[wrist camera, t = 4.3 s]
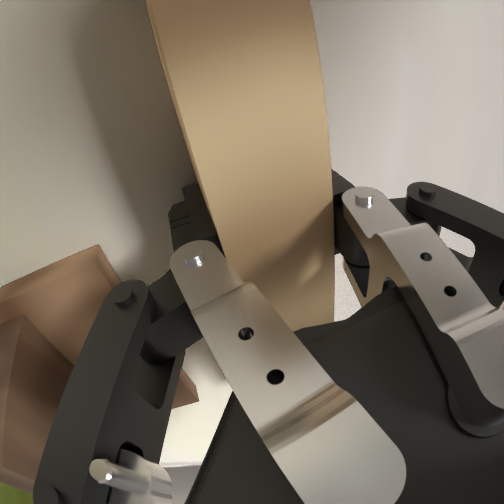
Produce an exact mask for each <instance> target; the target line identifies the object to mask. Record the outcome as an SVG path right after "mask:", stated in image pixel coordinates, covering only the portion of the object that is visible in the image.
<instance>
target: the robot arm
mask: <svg viewBox="0 0 504 504" xmlns="http://www.w3.org/2000/svg"><path fill="white" fill-rule="evenodd" d="M331 174H332V192H333V214H334V255H336V254H338V253H341V254H342V256H343V268H344V271H345V273H346V275H347V277H348V279H349V281H350V283H351V285H352V287H353V289H354V291H355V294H356V296H357V298H358V300H359V302H360V304H361V307H362V308H361V309H360V310H358V311H357V312H356V313H355V314H353V315H352V316H351V317H349V318H348V319H346V320H342V321H337V322H332V323H327V324H322V325H316V326H311V327H305V328H301V329H299V330H296V331H294V332H292V330H291V329H290V328H289V327H288V325H287V324H286V323H285V322H284V320H283V319H282V318H281V317H280V316H279V314H278V313H277V312H276V311H275V309H274V308H273V307H272V306H271V304H270V303H269V302H268V301H267V299H266V298H265V297H264V296H263V294H262V293H261V292H260V291H259V290H258V288H257V287H256V286H255V285H254V284H253V283H252V282H251V281H248V282H247V283H244V282H243V281H242V279H241V278H240V277H239V275H238V274H237V273H236V271H235V270H234V269H233V268H232V266H231V265H230V264H229V262H228V261H227V260H226V258H225V255H224V252H223V249H222V246H221V242H220V239H219V236H218V233H217V231H216V228H215V226H214V223H213V221H212V218H211V215H210V213H209V210H208V208H207V205H206V203H205V200H204V197H203V195H202V192H201V190H200V187H199V184H198V183H196V184H193V185H190V186H187V187H184V188H182V189H183V193H184V197H185V201H183V202H180V203H178V204H175V205H173V206H172V208H171V210H170V212H169V214H168V216H169V222H170V229H171V236H172V242H173V249H174V253H173V254H172V256H171V258H170V261H169V266H170V270H169V271H168V272H167V273H166V274H165V275H164V276H163V277H161V278H160V279H159V280H157V281H155V282H154V283H152V284H151V285H149V286H148V287H147V285H146V284H145V283H144V282H143V281H140V280H128V281H125V282H122V283H121V284H119V285H117V286H116V287H114V288H113V289H112V290H111V291H110V292H109V293H108V295H107V296H106V298H105V300H104V302H103V304H102V306H101V308H100V310H99V312H98V314H97V316H96V318H95V320H94V322H93V325H92V327H91V329H90V331H89V333H88V335H87V338H86V340H85V342H84V344H83V347H82V349H81V351H80V354H79V356H78V358H77V361H76V363H75V365H74V368H73V370H72V373H71V375H70V378H69V380H68V383H67V385H66V388H65V390H64V393H63V395H62V398H61V401H60V403H59V406H58V409H57V412H56V415H55V417H54V420H53V423H52V426H51V429H50V432H49V435H48V438H47V441H46V445H45V448H44V451H43V455H42V458H41V461H40V465H39V468H38V472H37V476H36V480H35V484H34V488H33V503H34V504H174V503H173V500H172V483H171V479H170V477H169V475H168V473H167V472H166V470H165V469H163V467H161V466H160V465H159V461H160V456H161V452H162V447H163V443H164V438H165V434H166V430H167V425H168V421H169V417H170V413H171V408H172V404H173V400H174V396H175V392H176V388H177V384H178V380H179V376H180V372H181V368H182V364H183V360H184V356H185V349H186V348H188V347H189V346H191V345H192V344H194V343H195V342H197V341H198V340H200V339H201V338H202V337H204V339H205V340H206V342H207V344H208V346H209V348H210V350H211V352H212V354H213V356H214V357H215V359H216V361H217V363H218V365H219V367H220V368H221V370H222V372H223V374H224V376H225V377H226V379H227V381H228V383H229V385H230V386H231V388H232V390H233V391H232V393H231V396H230V398H229V400H228V403H227V405H226V408H225V410H224V413H223V415H222V418H221V420H220V422H219V425H218V427H217V430H216V432H215V434H214V437H213V439H212V442H211V444H210V446H209V449H208V451H207V453H206V456H205V458H204V461H203V463H202V465H201V468H200V470H199V472H198V474H197V477H196V479H195V481H194V484H193V486H192V488H191V490H190V493H189V495H188V497H187V500H186V502H185V504H504V214H503V213H501V212H499V211H497V210H495V209H493V208H490V207H488V206H486V205H484V204H481V203H479V202H477V201H475V200H472V199H470V198H467V197H465V196H463V195H460V194H458V193H455V192H453V191H450V190H448V189H445V188H443V187H440V186H437V185H435V184H432V183H427V182H416V183H412V184H410V185H409V186H408V188H407V195H406V198H395V199H388V198H387V197H386V196H385V195H384V194H383V193H382V192H381V191H379V190H377V189H374V188H370V187H355V186H354V185H352V184H351V183H350V182H348V181H347V180H346V179H345V178H343V177H342V176H341V175H340V176H339V174H338V173H337V172H335V171H333V169H331ZM441 226H442V227H445V228H447V229H449V230H451V231H453V232H456V233H458V234H460V235H462V236H464V237H466V238H468V239H470V240H471V241H472V242H473V243H474V245H475V254H474V257H467V256H465V255H463V254H461V253H459V252H457V251H455V250H453V249H451V248H449V247H447V246H446V244H445V243H444V242H443V241H442V239H441V238H440V237H439V235H440V231H441Z"/></svg>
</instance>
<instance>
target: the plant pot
mask: <svg viewBox="0 0 504 504" xmlns="http://www.w3.org/2000/svg"><path fill="white" fill-rule="evenodd" d="M0 504H34V503H33V494H31V493H28V492H25V491H22V490H20V489H17V488H15V487H12V486H10V485H7V484H5V483H2V482H0Z"/></svg>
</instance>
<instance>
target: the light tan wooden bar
mask: <svg viewBox="0 0 504 504" xmlns="http://www.w3.org/2000/svg"><path fill="white" fill-rule="evenodd" d="M145 3H146V7H147V11H148V15H149V18H150V22H151V26H152V30H153V33H154V37H155V41H156V44H157V48H158V52H159V55H160V59H161V62H162V66H163V70H164V73H165V77H166V80H167V84H168V87H169V90H170V94H171V97H172V101H173V104H174V108H175V111H176V114H177V118H178V121H179V124H180V128H181V131H182V134H183V138H184V141H185V144H186V147H187V151H188V154H189V157H190V160H191V164H192V167H193V170H194V173H195V176H196V179H197V183H198V184H199V187H200V190H201V192H202V195H203V197H204V200H205V203H206V205H207V208H208V210H209V213H210V215H211V218H212V221H213V223H214V226H215V228H216V231H217V233H218V236H219V239H220V242H221V246H222V249H223V252H224V255H225V258H226V260H227V261H228V262H229V264H230V265H231V266H232V268H233V269H234V270H235V271H236V273H237V274H238V275H239V277H240V278H241V279H242V281H243V282H244V283H247V282H248V281H251V282H252V283H253V284H254V285H255V286H256V287H257V288H258V290H259V291H260V292H261V293H262V294H263V296H264V297H265V298H266V299H267V301H268V302H269V303H270V304H271V306H272V307H273V308H274V309H275V311H276V312H277V313H278V314H279V316H280V317H281V318H282V319H283V320H284V322H285V323H286V324H287V325H288V327H289V328H290V329H291V330H292V332H294V331H296V330H299V329H301V328H305V327H311V326H316V325H322V324H327V323H332V322H334V290H335V256H334V214H333V192H332V174H331V159H330V146H329V135H328V124H327V114H326V105H325V96H324V88H323V80H322V72H321V65H320V58H319V51H318V45H317V38H316V32H315V27H314V21H313V15H312V10H311V5H310V0H145Z"/></svg>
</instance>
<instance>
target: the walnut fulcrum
mask: <svg viewBox="0 0 504 504" xmlns="http://www.w3.org/2000/svg"><path fill="white" fill-rule="evenodd" d="M121 283H122V282H121V281H120V279H119V278H118V276H117V274H116V273H115V271H114V269H113V268H112V266H111V264H110V263H109V261H108V259H107V258H106V256H105V254H104V253H103V251H102V249H101V247H100V246H99V244H98V245H95V246H93V247H91V248H88V249H86V250H83V251H81V252H79V253H76V254H74V255H71V256H69V257H67V258H64V259H62V260H60V261H58V262H55V263H53V264H51V265H48V266H46V267H44V268H42V269H39V270H37V271H35V272H33V273H31V274H28V275H26V276H24V277H22V278H20V279H18V280H16V281H13V282H11V283H9V284H7V285H5V286H3V287H1V288H0V482H2V483H5V484H7V485H10V486H12V487H15V488H17V489H20V490H22V491H25V492H28V493H31V494H33V488H34V484H35V480H36V476H37V472H38V468H39V465H40V461H41V458H42V455H43V451H44V448H45V445H46V441H47V438H48V435H49V432H50V429H51V426H52V423H53V420H54V417H55V415H56V412H57V409H58V406H59V403H60V401H61V398H62V395H63V393H64V390H65V388H66V385H67V383H68V380H69V378H70V375H71V373H72V370H73V368H74V365H75V363H76V361H77V358H78V356H79V354H80V351H81V349H82V347H83V344H84V342H85V340H86V338H87V335H88V333H89V331H90V329H91V327H92V325H93V322H94V320H95V318H96V316H97V314H98V312H99V310H100V308H101V306H102V304H103V302H104V300H105V298H106V296H107V295H108V293H109V292H110V291H111V290H112V289H113V288H114V287H116V286H117V285H119V284H121ZM198 401H199V398H198V394H197V390H196V386H195V384H194V383H193V382H192V381H191V379H190V378H189V377H188V376H187V374H186V373H185V372H184V371H183V369H182V368H181V372H180V376H179V380H178V384H177V388H176V392H175V396H174V400H173V404H172V408H171V409H173V408H177V407H180V406H184V405H188V404H191V403H195V402H198Z"/></svg>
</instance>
